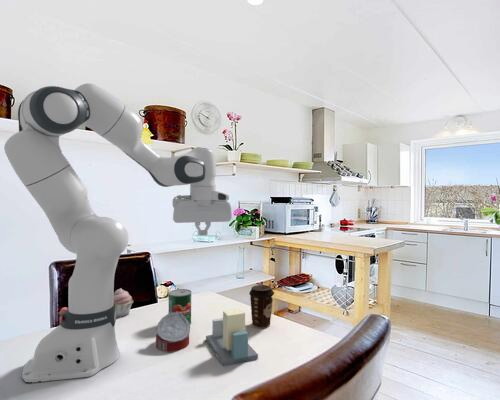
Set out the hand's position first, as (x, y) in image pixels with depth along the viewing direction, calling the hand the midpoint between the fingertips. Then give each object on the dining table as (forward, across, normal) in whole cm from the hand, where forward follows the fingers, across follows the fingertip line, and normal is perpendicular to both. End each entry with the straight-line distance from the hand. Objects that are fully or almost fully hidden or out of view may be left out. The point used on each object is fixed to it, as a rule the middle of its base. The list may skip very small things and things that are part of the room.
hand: (202, 235), depth 111 cm
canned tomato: (+31, -7, +4) cm, 32 cm away
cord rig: (+31, +3, -20) cm, 37 cm away
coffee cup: (+31, +19, -8) cm, 37 cm away
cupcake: (+31, -26, +21) cm, 46 cm away
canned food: (+32, -12, -11) cm, 35 cm away
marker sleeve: (+29, +3, -23) cm, 37 cm away
